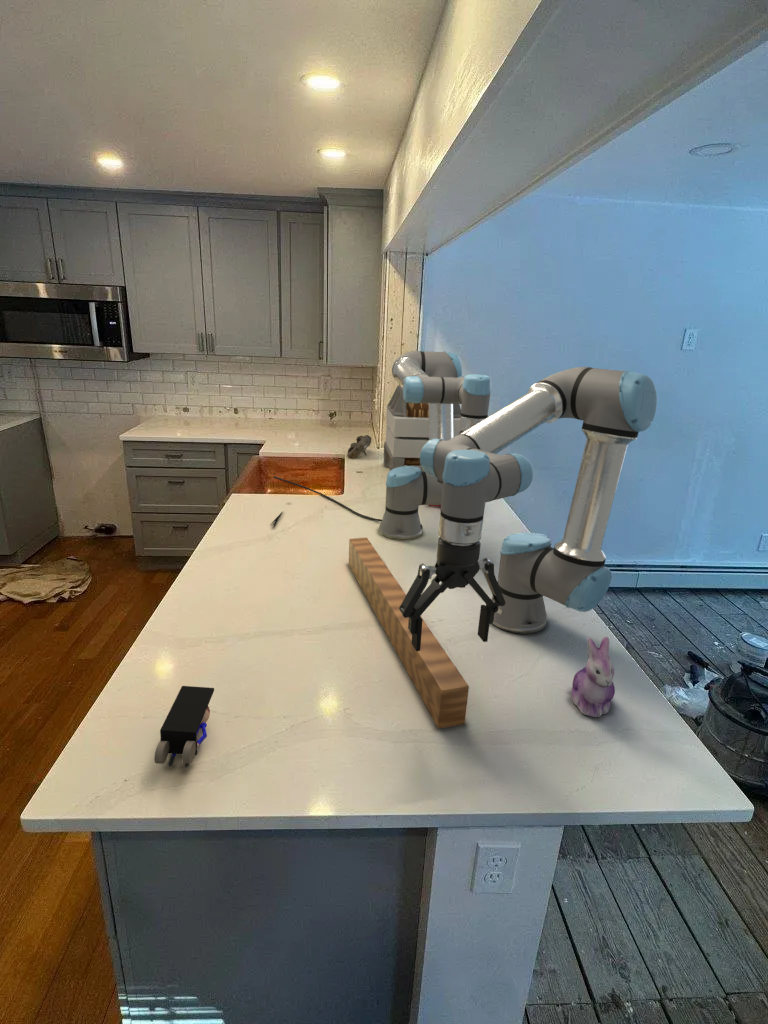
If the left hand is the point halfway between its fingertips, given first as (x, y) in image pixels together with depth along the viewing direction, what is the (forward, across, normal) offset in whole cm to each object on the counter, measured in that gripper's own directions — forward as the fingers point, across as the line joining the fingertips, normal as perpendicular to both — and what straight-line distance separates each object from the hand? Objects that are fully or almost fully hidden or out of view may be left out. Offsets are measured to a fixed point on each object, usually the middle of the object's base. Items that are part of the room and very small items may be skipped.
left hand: (465, 503), depth 166 cm
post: (+22, -35, -18) cm, 45 cm away
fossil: (+23, +42, +138) cm, 146 cm away
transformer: (+23, +52, +95) cm, 110 cm away
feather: (+22, -31, +68) cm, 78 cm away
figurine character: (+21, -89, -35) cm, 98 cm away
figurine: (+21, -15, -62) cm, 68 cm away
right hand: (+6, -44, -49) cm, 66 cm away
